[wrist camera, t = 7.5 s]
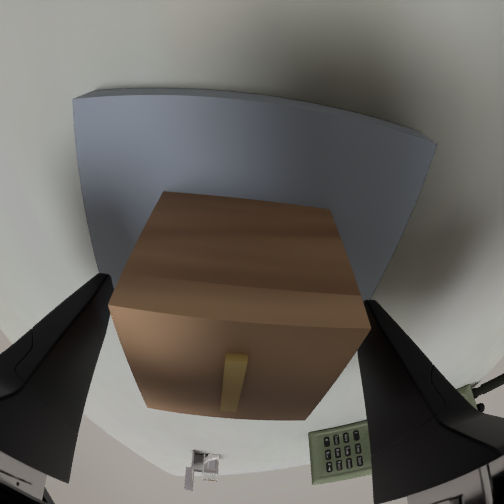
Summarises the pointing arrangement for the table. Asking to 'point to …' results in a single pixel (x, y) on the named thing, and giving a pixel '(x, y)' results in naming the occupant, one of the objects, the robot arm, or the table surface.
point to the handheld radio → (362, 443)
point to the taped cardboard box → (237, 307)
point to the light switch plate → (245, 165)
